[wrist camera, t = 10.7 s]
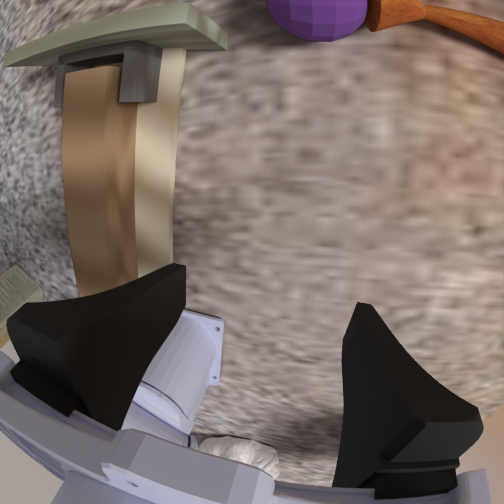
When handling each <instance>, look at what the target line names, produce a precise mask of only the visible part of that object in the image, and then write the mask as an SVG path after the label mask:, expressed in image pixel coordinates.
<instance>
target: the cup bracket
mask: <svg viewBox="0 0 504 504" xmlns="http://www.w3.org/2000/svg"><path fill="white" fill-rule="evenodd" d="M228 39H229V34H228V33H226V32H225V31H224V30H223V29H222V28H221V27H219V26H218V25H217V24H216V23H214V22H213V21H212V20H211V19H210V18H208V17H207V16H206V15H204V14H203V13H202V12H201V11H199V10H198V9H197V8H195V7H194V6H193V5H191V4H190V3H180V4H171V5H164V6H157V7H150V8H144V9H139V10H133V11H128V12H123V13H119V14H114V15H110V16H106V17H102V18H98V19H95V20H91V21H88V22H84V23H81V24H78V25H74V26H71V27H68V28H65V29H62V30H60V31H57V32H54V33H51V34H49V35H46V36H44V37H41V38H39V39H36V40H34V41H31V42H29V43H27V44H24V45H22V46H20V47H18V48H16V49H14V50H11V51H9V52H7V53H6V58H5V65H4V67H19V66H58V68H57V77H56V88H55V102H54V108H58V107H63V99H64V86H65V76H66V73H70V72H75V71H80V70H86V69H91V68H97V67H104V66H113V67H120V68H122V76H121V86H120V97H119V102H138V111H137V126H136V145H135V230H136V250H137V266H138V278H140V277H142V276H144V275H146V274H149V273H151V272H153V271H155V270H157V269H159V268H162V267H164V266H166V265H169V264H171V263H173V211H174V183H175V164H176V148H177V134H178V122H179V111H180V101H181V92H182V83H183V75H184V67H185V59H186V52H187V50H227V46H228Z"/></svg>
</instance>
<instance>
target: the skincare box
mask: <svg viewBox="0 0 504 504" xmlns="http://www.w3.org/2000/svg"><path fill="white" fill-rule="evenodd" d="M43 293H44V291H43V289H42V288H41V287H40V286H39V285H38V284H37V283H36V282H35V281H34V280H32V279H31V278H30V277H29V276H28V275H27V274H26V273H25V272H24V271H23V270H22V269H21V268H20V267H19V266H18V265H17V264H15V265H14V266H12V267H11V268H10V269H8V270H7V271H6V272H4V273H3V274H2V275H0V349H1V348H2V347H3V346H4V345H5V344H6V343H7V342H8V341H9V339H10V337H9V334H8V332H7V327H6V322H7V319H8V318H9V317H10V316H11V315H12V314H13V313H15V312H16V311H17V310H18V309H19V308H20V307H21V306H22V305H24V304H25V303H26V302H43Z"/></svg>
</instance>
